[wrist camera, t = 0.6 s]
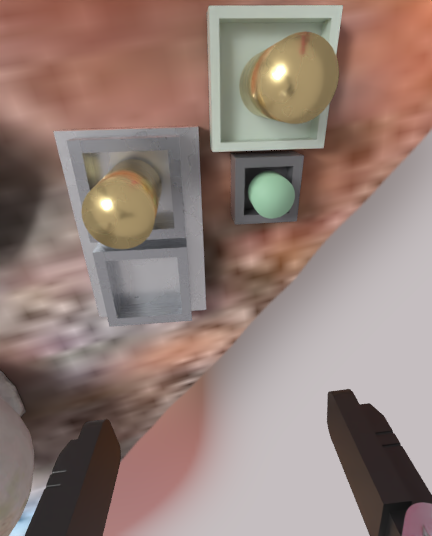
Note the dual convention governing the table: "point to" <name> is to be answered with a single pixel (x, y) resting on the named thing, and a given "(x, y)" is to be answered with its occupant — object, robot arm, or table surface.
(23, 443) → the ceramic pitcher
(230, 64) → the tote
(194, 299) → the tray
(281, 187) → the button
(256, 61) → the billet
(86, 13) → the table surface
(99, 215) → the billet
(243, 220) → the console
